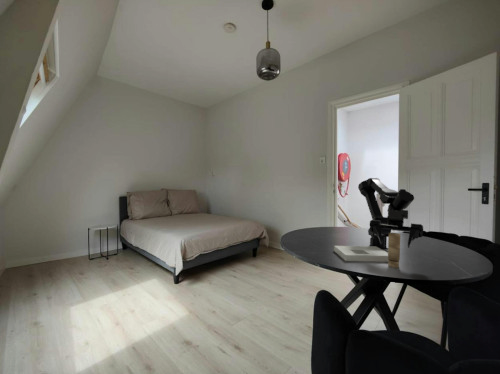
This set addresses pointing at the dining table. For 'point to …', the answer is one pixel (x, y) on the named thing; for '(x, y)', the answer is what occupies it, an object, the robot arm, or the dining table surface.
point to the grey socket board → (361, 253)
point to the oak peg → (393, 250)
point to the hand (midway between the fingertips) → (394, 245)
